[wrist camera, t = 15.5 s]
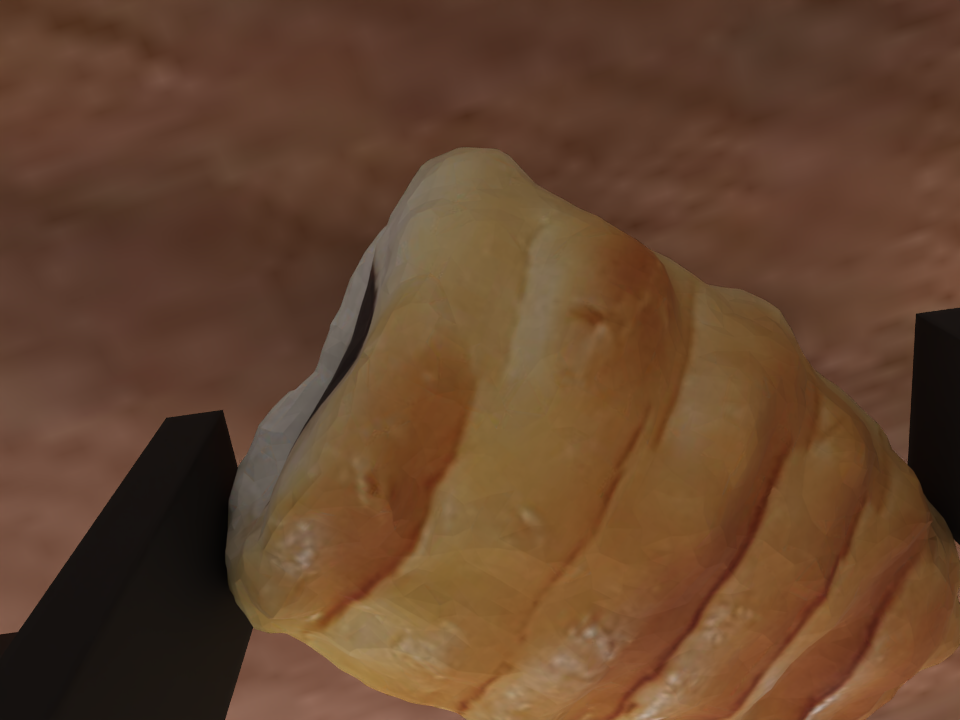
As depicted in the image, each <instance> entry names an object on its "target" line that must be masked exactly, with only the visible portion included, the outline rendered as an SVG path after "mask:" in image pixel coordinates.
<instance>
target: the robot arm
mask: <svg viewBox="0 0 960 720" xmlns="http://www.w3.org/2000/svg"><path fill="white" fill-rule="evenodd" d="M908 466H909V467H910V468H911V469H912V470H913V471H914V473H915V475H916V476H917V478H918V480H919V482H920V484H921V487H922V490H923V493H924V495H925V496H926V498H927V499H928V501H929V502H930V503H931V504H932V505H933V507H934V508H935V509H936V510H937V511H938V512H939V513H940V515H941V516H942V517H943V518H944V520H945V521H946V523H947V525H948V527H949V529H950V531H951V533H952V536H953V539H954V540H955V541H956V542H957V543H958V544H959V545H960V308H954V309H947V310H940V311H932V312H925V313H918V314H916V323H915V341H914V360H913V378H912V396H911V415H910V433H909V451H908ZM237 470H238V467H237V463H236V459H235V455H234V451H233V447H232V444H231V440H230V436H229V432H228V428H227V424H226V421H225V417H224V413H223V410H220V411H212V412H205V413H198V414H191V415H184V416H176V417H169V418H166V419H165V421H164V422H163V424H162V425H161V426H160V428H159V429H158V431H157V432H156V434H155V435H154V437H153V438H152V439H151V441H150V442H149V444H148V445H147V447H146V448H145V450H144V451H143V452H142V454H141V455H140V457H139V458H138V460H137V461H136V463H135V464H134V465H133V467H132V468H131V470H130V471H129V473H128V474H127V476H126V477H125V478H124V480H123V481H122V483H121V484H120V486H119V487H118V489H117V490H116V491H115V493H114V494H113V496H112V497H111V499H110V500H109V502H108V503H107V504H106V506H105V507H104V509H103V510H102V512H101V513H100V515H99V516H98V517H97V519H96V520H95V522H94V523H93V525H92V526H91V528H90V529H89V530H88V532H87V533H86V535H85V536H84V538H83V539H82V541H81V542H80V543H79V545H78V546H77V548H76V549H75V551H74V552H73V554H72V555H71V556H70V558H69V559H68V561H67V562H66V564H65V565H64V567H63V568H62V569H61V571H60V572H59V574H58V575H57V577H56V578H55V580H54V581H53V583H52V584H51V585H50V587H49V588H48V590H47V591H46V593H45V594H44V596H43V597H42V598H41V600H40V601H39V603H38V604H37V606H36V607H35V609H34V610H33V611H32V613H31V614H30V616H29V617H28V619H27V620H26V622H25V623H24V624H23V626H22V627H21V629H20V630H19V632H16V633H8V634H1V635H0V720H225V718H226V715H227V711H228V708H229V705H230V701H231V698H232V695H233V692H234V688H235V685H236V682H237V678H238V675H239V672H240V669H241V665H242V662H243V659H244V655H245V652H246V649H247V646H248V642H249V639H250V636H251V632H252V629H253V626H252V624H251V623H250V621H249V620H248V618H247V616H246V615H245V613H244V612H243V611H242V610H241V609H240V607H239V606H238V605H237V604H236V602H235V598H234V595H233V594H232V592H231V591H230V589H229V584H228V577H227V567H226V563H225V550H226V542H227V532H228V503H229V497H230V494H231V490H232V487H233V484H234V480H235V477H236V473H237Z"/></svg>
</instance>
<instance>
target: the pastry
mask: <svg viewBox="0 0 960 720" xmlns="http://www.w3.org/2000/svg"><path fill="white" fill-rule="evenodd" d="M225 563H226V567H227V577H228V584H229V589H230V591H231V592H232V594H233V595H234V598H235V602H236V604H237V605H238V606H239V607H240V609H241V610H242V611H243V612H244V613H245V615H246V616H247V618H248V620H249V621H250V623H251V624H252V626H253V628H254V629H257V630H260V631H263V632H267V633H287V634H289V635H291V636H293V637H294V638H296V639H298V640H300V641H302V642H304V643H305V644H307V645H308V646H310V647H311V648H313V649H314V650H315V651H317V652H318V653H320V654H321V655H323V656H324V657H325V658H327V659H328V660H329V661H331V662H332V663H333V664H334V665H335V666H337V667H338V668H339V669H340V670H342V671H344V672H346V673H348V674H350V675H352V676H354V677H355V678H357V679H359V680H360V681H361V682H363V683H364V684H365V685H367V686H369V687H371V688H373V689H375V690H377V691H379V692H382V693H385V694H387V695H390V696H395V697H397V698H400V699H402V700H405V701H407V702H410V703H415V704H421V705H429V706H434V707H436V708H441V709H446V710H450V711H453V712H456V713H458V714H460V715H461V716H462V717H464V718H465V719H467V720H865V719H867V718H868V717H869V716H870V715H871V714H873V713H874V712H875V711H876V710H877V709H879V708H880V707H882V706H883V705H884V704H886V703H887V702H889V701H890V700H891V699H892V698H893V697H894V695H895V694H896V692H897V691H898V689H899V688H900V687H901V686H902V685H903V684H904V683H905V682H906V681H908V680H909V679H911V678H912V677H913V676H914V675H915V674H917V673H918V672H919V671H920V670H923V669H926V668H928V667H931V666H934V665H937V664H939V663H941V662H942V661H943V660H945V659H946V658H948V657H949V656H950V655H952V654H953V653H954V652H955V650H956V649H957V648H958V647H959V645H960V604H959V600H958V596H957V592H958V589H959V586H960V560H959V556H958V553H957V549H956V546H955V542H954V539H953V536H952V533H951V531H950V529H949V527H948V525H947V523H946V521H945V520H944V518H943V517H942V516H941V515H940V513H939V512H938V511H937V510H936V509H935V508H934V507H933V505H932V504H931V503H930V502H929V501H928V499H927V498H926V496H925V495H924V493H923V490H922V487H921V484H920V482H919V480H918V478H917V476H916V475H915V473H914V471H913V470H912V469H911V468H910V467H909V466H908V465H907V464H906V463H905V462H904V461H903V460H902V459H901V458H900V457H899V456H898V455H897V454H896V453H895V452H894V451H893V450H892V448H891V445H890V443H889V440H888V438H887V436H886V434H885V433H884V431H883V430H882V429H881V427H880V426H879V424H877V423H876V422H875V421H874V420H873V419H872V418H871V417H870V416H869V415H867V414H866V413H865V412H864V411H863V410H862V409H861V408H860V407H859V406H858V405H857V404H856V403H855V402H854V400H853V399H852V398H850V397H849V396H848V395H847V394H846V393H845V392H844V391H843V390H841V389H840V388H839V387H838V386H837V385H835V384H834V383H832V382H830V381H829V380H827V379H826V378H824V377H823V376H822V375H821V374H819V373H818V372H817V371H815V370H814V369H813V367H812V366H811V365H810V363H809V362H808V361H807V359H806V358H805V356H804V355H803V353H802V351H801V349H800V347H799V345H798V343H797V341H796V339H795V337H794V335H793V332H792V329H791V328H790V326H789V325H788V324H787V322H786V320H785V318H784V317H783V315H782V313H781V312H780V310H779V309H777V308H776V307H774V306H773V305H771V304H770V303H768V302H767V301H765V300H763V299H761V298H759V297H757V296H755V295H753V294H751V293H749V292H746V291H744V290H742V289H735V288H727V287H720V286H713V285H707V284H706V283H704V282H703V281H702V280H700V279H699V278H697V277H696V276H695V275H693V274H692V273H691V272H689V271H688V270H686V269H685V268H683V267H682V266H680V265H679V264H677V263H676V262H674V261H673V260H671V259H670V258H668V257H666V256H664V255H661V254H659V253H657V252H655V251H653V250H651V249H648V248H647V247H646V246H644V245H643V244H642V243H640V242H639V241H638V240H636V239H634V238H633V237H631V236H629V235H628V234H626V233H624V232H623V231H621V230H619V229H618V228H616V227H614V226H612V225H611V224H609V223H608V222H606V221H605V220H603V219H602V218H600V217H598V216H596V215H594V214H591V213H589V212H587V211H585V210H582V209H580V208H578V207H576V206H574V205H573V204H571V203H569V202H567V201H566V200H564V199H562V198H560V197H559V196H557V195H555V194H553V193H551V192H549V191H547V190H545V189H544V188H542V187H540V186H538V185H537V184H535V183H534V181H533V180H532V179H531V178H530V177H529V176H528V175H527V174H526V173H525V172H524V171H523V170H522V169H521V168H520V167H519V166H518V164H517V163H516V162H515V161H514V160H513V159H512V158H511V157H510V156H509V155H507V154H505V153H504V152H502V151H500V150H498V149H491V148H472V147H462V148H457V149H455V150H452V151H450V152H447V153H445V154H442V155H440V156H437V157H435V158H432V159H430V160H428V161H427V162H426V163H425V164H423V165H422V166H421V167H420V169H419V170H418V172H417V173H416V175H415V176H414V178H413V179H412V181H411V182H410V184H409V185H408V187H407V189H406V191H405V192H404V194H403V196H402V197H401V199H400V200H399V202H398V204H397V205H396V207H395V208H394V210H393V212H392V213H391V215H390V218H389V221H388V224H387V226H386V227H384V228H383V229H382V230H381V231H380V233H379V234H378V235H377V237H376V238H375V239H374V241H373V242H372V243H371V245H370V246H369V247H368V249H367V250H366V251H365V253H364V255H363V256H362V258H361V260H360V262H359V264H358V266H357V268H356V270H355V271H354V273H353V275H352V276H351V278H350V280H349V283H348V286H347V289H346V293H345V296H344V298H343V301H342V304H341V307H340V309H339V311H338V313H337V314H336V316H335V318H334V319H333V321H332V323H331V324H330V331H329V333H328V336H327V338H326V341H325V343H324V346H323V349H322V351H321V355H320V359H319V363H318V365H317V367H316V370H315V372H314V373H313V374H312V375H311V376H309V377H308V378H307V379H306V380H305V381H304V382H303V383H302V384H301V385H300V386H299V387H298V388H297V389H296V390H293V391H290V392H288V393H287V394H286V395H285V396H284V397H283V398H282V399H281V400H280V401H279V402H278V403H277V404H276V405H275V406H274V407H273V408H272V409H271V410H270V412H269V413H268V414H267V415H266V417H265V418H264V419H263V421H262V422H261V423H260V424H259V426H258V429H257V431H256V434H255V437H254V439H253V442H252V444H251V447H250V449H249V451H248V453H247V455H246V456H245V457H244V459H243V460H242V462H241V463H240V465H239V466H238V470H237V473H236V477H235V480H234V484H233V487H232V490H231V494H230V497H229V503H228V532H227V542H226V550H225Z"/></svg>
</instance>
